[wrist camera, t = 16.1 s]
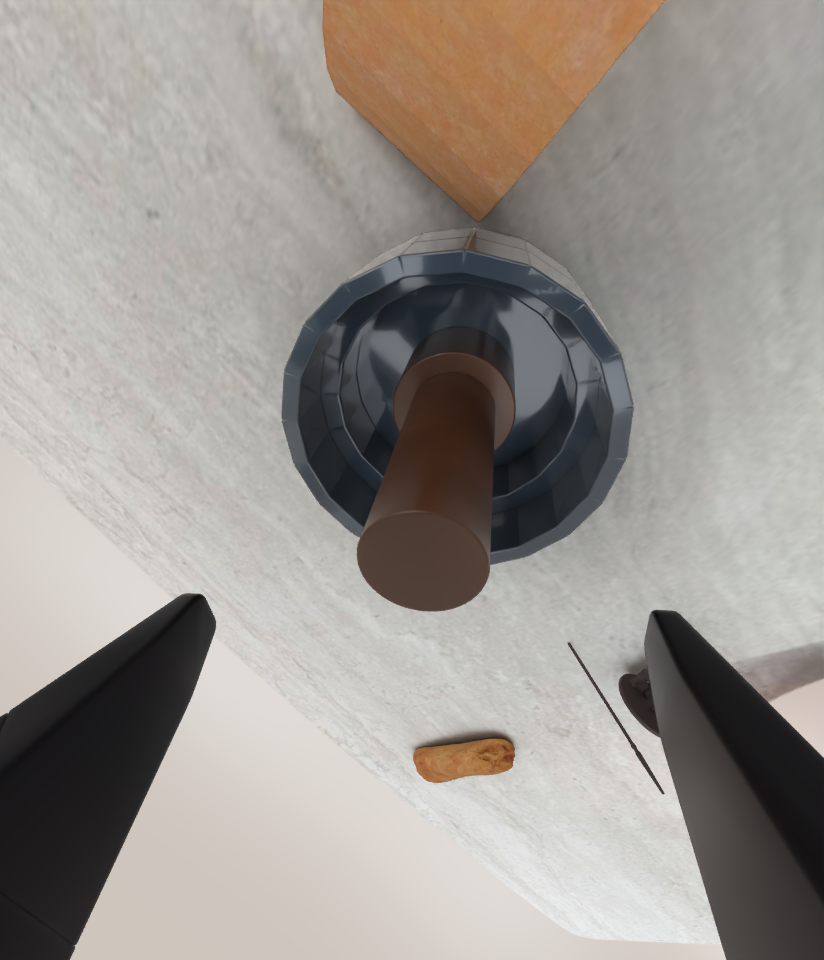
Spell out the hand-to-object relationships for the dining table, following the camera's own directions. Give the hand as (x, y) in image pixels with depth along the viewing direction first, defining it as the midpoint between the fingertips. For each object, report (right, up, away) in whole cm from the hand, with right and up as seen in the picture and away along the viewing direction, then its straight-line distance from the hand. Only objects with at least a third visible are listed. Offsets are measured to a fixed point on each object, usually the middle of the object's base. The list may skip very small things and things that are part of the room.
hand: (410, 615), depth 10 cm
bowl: (+2, +7, +11) cm, 13 cm away
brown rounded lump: (+3, -15, +24) cm, 29 cm away
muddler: (+2, +7, +10) cm, 12 cm away
